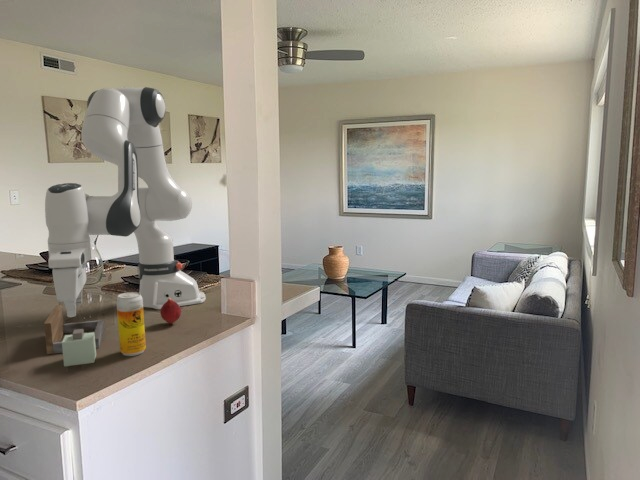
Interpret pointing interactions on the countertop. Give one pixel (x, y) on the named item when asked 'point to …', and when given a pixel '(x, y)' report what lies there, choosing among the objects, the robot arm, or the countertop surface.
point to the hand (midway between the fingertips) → (75, 310)
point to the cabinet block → (79, 348)
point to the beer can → (131, 323)
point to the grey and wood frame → (67, 330)
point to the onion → (170, 311)
